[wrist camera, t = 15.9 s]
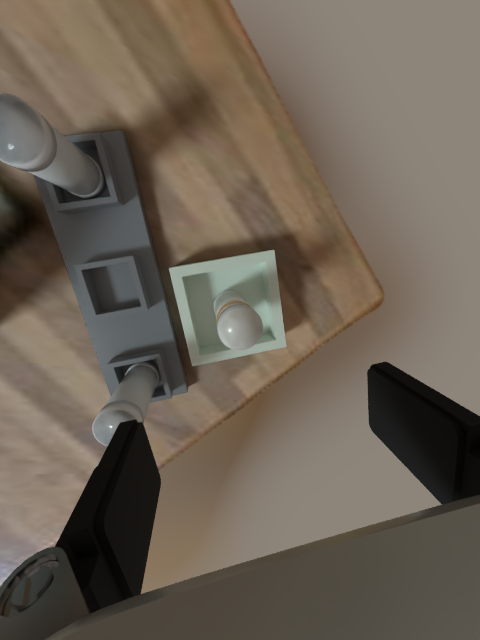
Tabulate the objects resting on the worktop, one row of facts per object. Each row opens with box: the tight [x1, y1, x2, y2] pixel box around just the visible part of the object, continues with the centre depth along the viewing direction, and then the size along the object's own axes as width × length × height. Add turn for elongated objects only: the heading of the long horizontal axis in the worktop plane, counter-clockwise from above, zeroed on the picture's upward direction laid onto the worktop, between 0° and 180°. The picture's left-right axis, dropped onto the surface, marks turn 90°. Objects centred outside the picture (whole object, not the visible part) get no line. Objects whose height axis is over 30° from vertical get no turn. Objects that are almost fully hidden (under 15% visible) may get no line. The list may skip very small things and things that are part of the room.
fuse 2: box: [92, 361, 160, 446], centre depth 29 cm, size 4×4×11 cm
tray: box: [169, 250, 286, 366], centre depth 33 cm, size 12×12×4 cm
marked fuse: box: [214, 290, 263, 350], centre depth 28 cm, size 4×4×11 cm
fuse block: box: [34, 130, 188, 403], centre depth 30 cm, size 32×10×4 cm, turn 9°
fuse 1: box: [0, 93, 106, 199], centre depth 22 cm, size 4×4×11 cm
